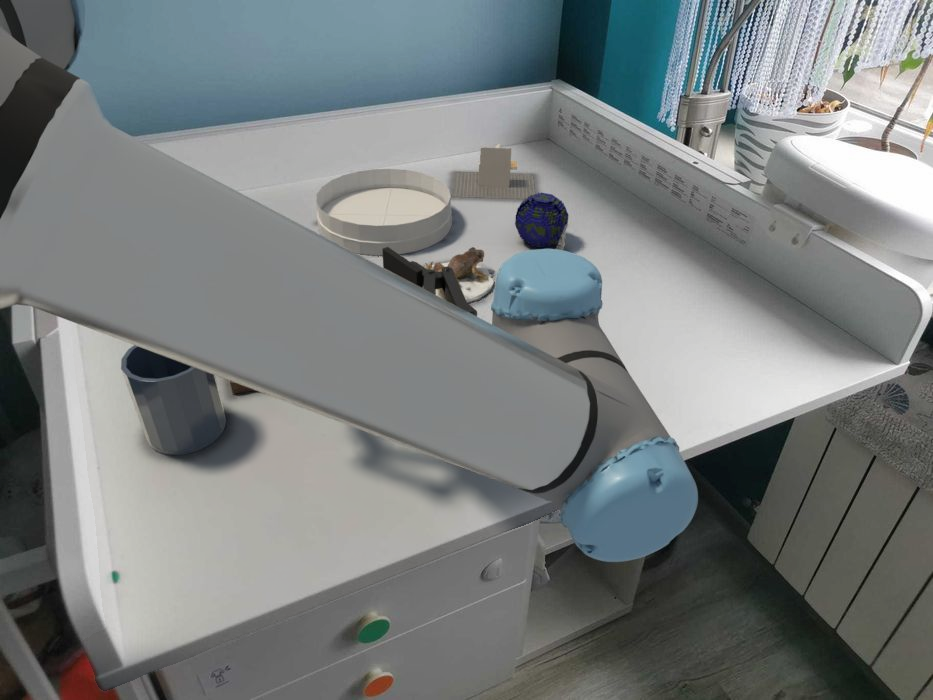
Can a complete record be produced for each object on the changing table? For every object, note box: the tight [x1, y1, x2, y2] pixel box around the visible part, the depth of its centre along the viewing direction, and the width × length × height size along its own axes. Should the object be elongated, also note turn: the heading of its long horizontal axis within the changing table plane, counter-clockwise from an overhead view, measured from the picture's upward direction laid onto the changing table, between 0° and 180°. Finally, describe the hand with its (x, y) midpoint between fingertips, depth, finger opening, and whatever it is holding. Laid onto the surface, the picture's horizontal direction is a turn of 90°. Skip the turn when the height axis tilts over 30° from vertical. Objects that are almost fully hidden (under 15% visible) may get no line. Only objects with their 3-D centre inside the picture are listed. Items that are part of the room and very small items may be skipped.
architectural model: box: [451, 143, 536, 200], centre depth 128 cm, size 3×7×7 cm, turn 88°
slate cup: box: [120, 345, 227, 456], centre depth 73 cm, size 8×8×10 cm
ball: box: [514, 192, 570, 250], centre depth 110 cm, size 8×8×8 cm
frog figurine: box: [423, 246, 495, 304], centre depth 101 cm, size 12×12×4 cm
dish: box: [315, 168, 453, 257], centre depth 115 cm, size 22×22×5 cm
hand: (333, 276), depth 76 cm, fingers open, 13 cm apart
